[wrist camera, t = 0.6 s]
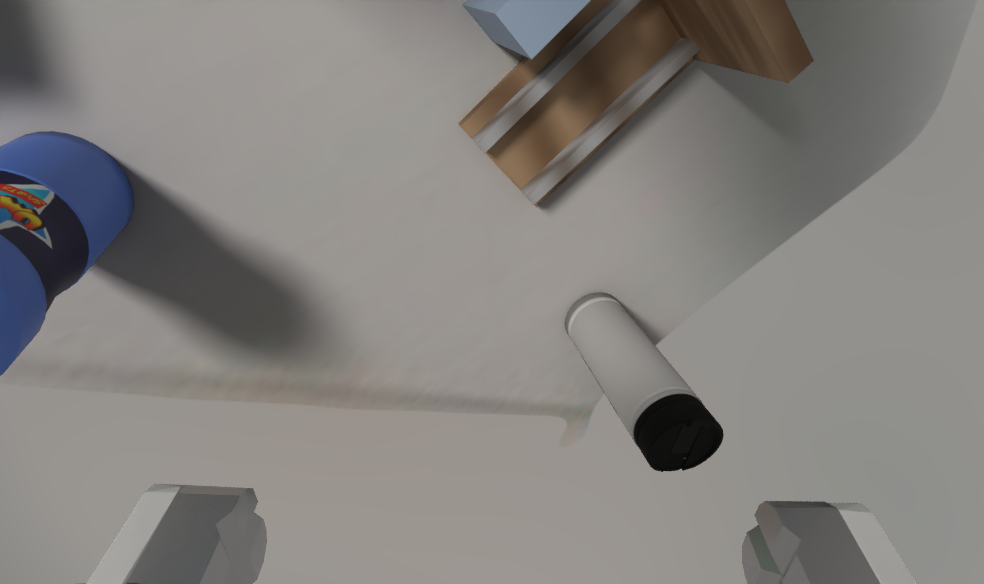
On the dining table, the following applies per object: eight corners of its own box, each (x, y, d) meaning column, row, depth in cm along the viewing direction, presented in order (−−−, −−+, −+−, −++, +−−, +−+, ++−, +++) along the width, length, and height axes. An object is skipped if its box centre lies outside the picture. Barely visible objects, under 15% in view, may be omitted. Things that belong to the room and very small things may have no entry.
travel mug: (627, 289, 60) (740, 415, 43) (612, 342, 63) (712, 480, 46) (571, 287, 58) (666, 418, 41) (558, 342, 61) (641, 485, 44)
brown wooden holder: (532, 202, 53) (583, 264, 41) (458, 123, 48) (493, 170, 37) (705, 40, 49) (813, 60, 38) (644, -64, 44) (747, -75, 33)
